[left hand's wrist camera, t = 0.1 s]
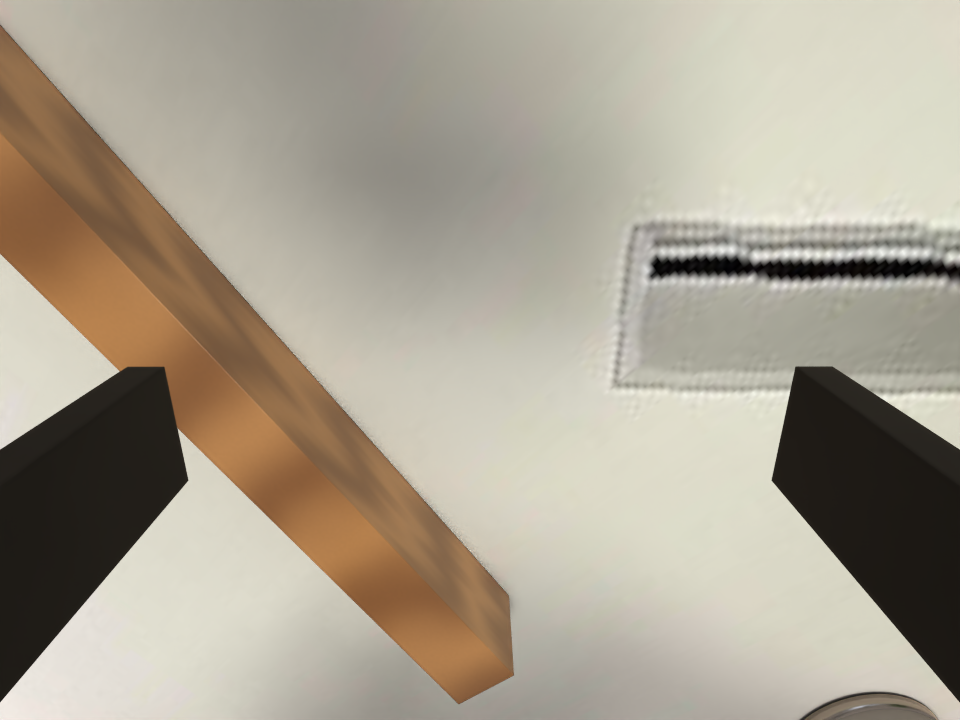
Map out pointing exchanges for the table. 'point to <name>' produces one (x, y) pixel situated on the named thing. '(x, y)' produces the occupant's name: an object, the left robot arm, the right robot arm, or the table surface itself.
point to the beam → (235, 384)
